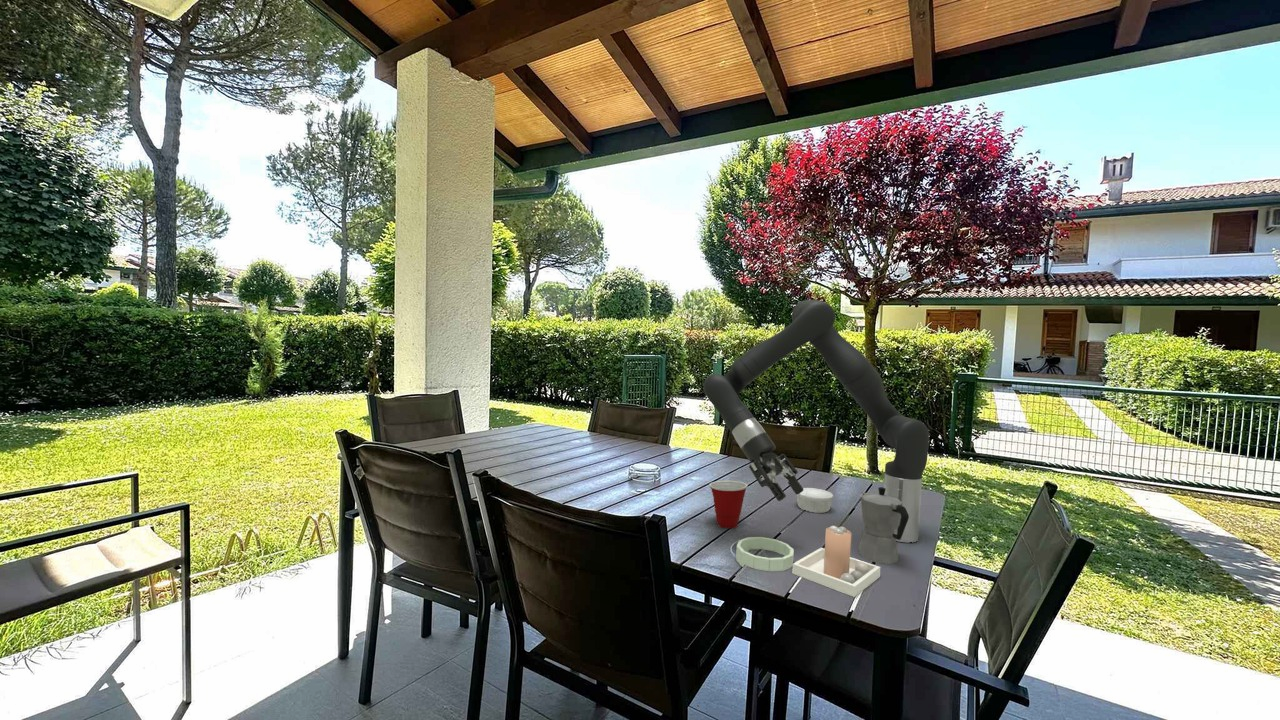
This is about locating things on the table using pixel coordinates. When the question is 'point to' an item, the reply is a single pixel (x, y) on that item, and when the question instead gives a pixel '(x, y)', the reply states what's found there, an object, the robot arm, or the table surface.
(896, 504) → the coffeepot
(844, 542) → the pebble pot
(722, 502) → the plastic cup
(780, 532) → the table surface
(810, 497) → the ramekin
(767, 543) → the sage bowl
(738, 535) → the table surface
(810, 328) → the robot arm
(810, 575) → the parts tray
